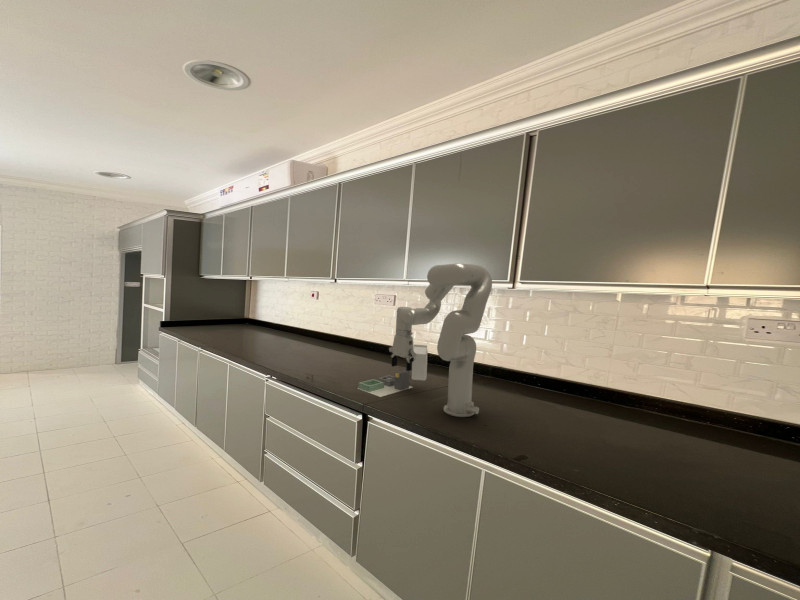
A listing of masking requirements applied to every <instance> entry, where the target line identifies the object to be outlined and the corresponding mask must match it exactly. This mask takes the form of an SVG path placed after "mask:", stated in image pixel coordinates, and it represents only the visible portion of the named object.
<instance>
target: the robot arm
mask: <svg viewBox="0 0 800 600" xmlns="http://www.w3.org/2000/svg"><path fill="white" fill-rule="evenodd" d="M426 279H427V282H428V286H427V287H426V288H425V290H424V293H425V296H426V298H427V299H428V303H427V304H426V305H425V306H424V307H420V308H419V307H418V308H417V307H416V308H412V307H409V306H399V307H397V308H396V321H395V334H394V336H393V342H392V346H391V347H388V351H389V355H390V358H391V367H397V365H398V357H400V358H404V359H405V360H406V371H410V372H411V371H412V362H413V361H414V360H415V358H416V356H417V354H416V353H415V352H414V338H413V333H414V332H413V331H412V330H413V329H412V328H413V326H419V325H427V324H429V323H431V322H432V321H433V320H434V319H435V318H436V316H438V314H439V313H440V310H441V307H442V301H443V300H444V299H445V297H446V296H447V295H448V294H449V292H451V290H452V289H453V288H454V287H455V286H458V287H459V286H460V287H461V286H462V287H463V286H464V287H471V288H470V289H469V291H468V292H467V294H466V295H465V297H464V301H463V303H462V304H463V305H462V307H461V309H459V310H458V309H457V310H452V311H450V312H448V314H447V315H446V316H445V318H444V320H443V323H442V325H441V330H440V334H439V337H438V341H437V346H436V348H437V354H438V356H439V357H440V359H441V360H442V361H446V362H450V363H449V367H448V368H449V369H448V384H447V385H448V387H447V404H444V406H443V412H444V413H445V414H447V415H449V416H452V417H457V418H467V417H472V416H474V415H478V414H479V412H480V407H478V406H474V402H475V401H472V397H473V396H472V395H473V377H474V376H473V375H474V363H475V358H476V352H477V342H476V340H475V338H474V337H472V336H470V335H471V334H474V333H476V332H477V331H479V328H480V326H481V323H482V319H483V316H484V313H485V310H486V306H487V303H488V300H489V298H490V295H491V291H492V288H493V278H492V276H491V274H490V272H489V270H487V268H485V267H483V266H481V265H478V264H473V263H471V264H470V263H460V262H459V263H458V262H457V263H456V262H455V263H449V264H436V265H433V266H432V267H431V268H430V269H429V270H428V271H427V276H426Z"/></svg>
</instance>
